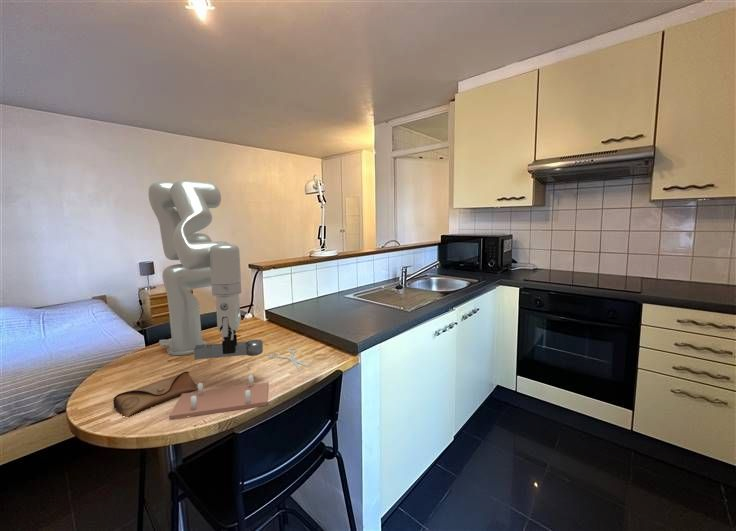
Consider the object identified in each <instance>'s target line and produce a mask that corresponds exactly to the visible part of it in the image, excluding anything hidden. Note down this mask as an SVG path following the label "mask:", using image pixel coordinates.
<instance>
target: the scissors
mask: <svg viewBox="0 0 736 531" xmlns="http://www.w3.org/2000/svg"><path fill="white" fill-rule="evenodd" d="M291 349H292V348H290V349H288V352H287V353H289V352H290V354H292V355H291V356H290V357H288V356H287V357H285V356H281V354H280V353H272V354H268V353H265V354H264V356H267V355H268V356H267V357H269V358H270V357H271V358H270V359H282V360H283V359H286V360H289V361H291V362H292V364H294V366H295V367H296V368H297V370H299V372H302V370H301V368H300V366H299V364H300V365H303V366H306V367H308V368H311V366H309V365H307V364H306V363H304V362H301V361H299V360H298V359H296V357H295V353H296V351H297V352H298V349H297V348H293V349H292V350H294V351H292V350H291ZM277 355H278V356H277Z"/></svg>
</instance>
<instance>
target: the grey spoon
mask: <svg viewBox="0 0 736 531" xmlns="http://www.w3.org/2000/svg"><path fill="white" fill-rule="evenodd" d="M263 343H264V342H263V340H262V339H259V338H258V339H250V340H247V341H237V342H235V353H231V354H223V347H222V342H221V343H212V344H210V343H209V344H208V343H207V345H196V347H195V348H194V353H193V356H194V360H195V361H196V360H207V359H217V358H227V357H230V358H231V357H239V356H250V357H254V356H258V355H261V354H262V353H263V351H264V350H263V348H264V347H263Z"/></svg>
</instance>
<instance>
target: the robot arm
mask: <svg viewBox="0 0 736 531" xmlns="http://www.w3.org/2000/svg"><path fill="white" fill-rule="evenodd" d="M148 201H149V204H150V206H151V209H152V211H153V213H154V215H155V217H156V219H157V221H158V225H159V230H160V237H161V238H160V239H161V244H162V250H163V254H164V256H165V258H166V259H167V260H170V261H179V262H180V263H176V264H172V265H169V266H167V267H166V268H164V269H163V271H162V281H163V285H164V288H165V292H166V297H167V298H166V299H167V306H168V313H169V325H170V326H169V327H170V335H171V336H170V337H171V338H168V339H159V341H158V345H159V346H160V348H161V347H168V348H167V350H166V351H167V354H169V355H171V356H187V355H191V354H194V348H195V347H196V345H208V343H207V341H206V340H205V339H203V338H202V337H203V336H202V325H201V324H202V322H201V312H200V303H199V299H198V297H197V296H196V295H195V294H193V293H192V292H191V290H197V289H201V288H202V289H203V288H207V287H208V288H209V287H211V296H213V297H216V300H215V301H216V302H215V303H216V326H217V331H218V332H221V337H222V338H221V343H222V347H223V354H231V353H235V342H238V338H237V330H238V329H239V327H240V325H241V322H242V316H241V306H240V305H241V304H240V303H241V302H240V295H241V294H242V276H241V274H242V273H241V258H240V257H241V256H240V248H239V246H238V245H236V244H234V243H230V242H227V241H213V240H212V239H211V237H210V236H209V235H207V234H205V233H202V232H201V233H200V231H201V230H204V229H206V228H207V227H208V226H209V225H210V224H211V223H212V221H213V215H212V212H211V211H210V209H216V208H218V207H219V206H220V205H221V201H222V195H221V192H220V189H219V188H218V186H217V185H216V184H214V183H212V182H206V181H197V180H196V181H194V180H179V181H156V182H153V183H151V185H149V187H148ZM198 232H199V233H198Z"/></svg>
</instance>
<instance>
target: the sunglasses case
mask: <svg viewBox="0 0 736 531" xmlns="http://www.w3.org/2000/svg"><path fill="white" fill-rule="evenodd" d="M197 391H198V386H197V385H196V383H195V381H194V380H193V379H192V377H191V375H190V373H189V371H184V372H181V373H179V374H177V375H174V376H171V377H167V378H164V379H160V380H158V381H154V382H151V383H149V384H146V385H144V386H141V387H138V388H134V389H132V390H128V391H127V390H126V391H124V392H120V393H118V394H117V395H115V397H114V398H113V408H114V409H115V408H116V409H115V410H116V411H117V413H119V414H120V415H121V414H122V415H121V417H123V416H125V417H129V418H130V416H131V417H133V416H135V415H137V414H139V412H140V413H142V412H144V411H147V410H150V409H151V407H152V408H153V407H156V405H157V406H159V405H163V404H164V403H166V402H170V401H172V400H175V399H177V398H180V396H181V395H182V394H183V393H191V392H197ZM146 409H147V410H146ZM141 411H142V412H141ZM136 413H137V414H136ZM134 414H135V415H134ZM132 415H133V416H132Z"/></svg>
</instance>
